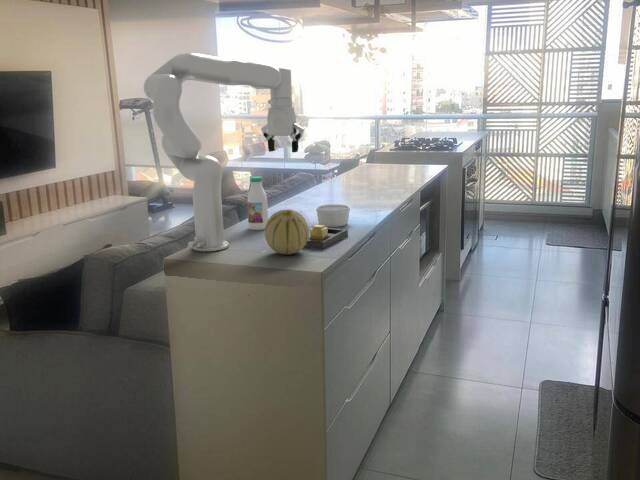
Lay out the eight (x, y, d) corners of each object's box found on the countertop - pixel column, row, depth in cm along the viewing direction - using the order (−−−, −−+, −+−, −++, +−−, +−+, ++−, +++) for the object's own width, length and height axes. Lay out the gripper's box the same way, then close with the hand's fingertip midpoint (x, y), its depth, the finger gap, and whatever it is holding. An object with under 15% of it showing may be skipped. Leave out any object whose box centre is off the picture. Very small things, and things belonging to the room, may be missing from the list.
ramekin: (311, 222, 247) (311, 205, 245) (341, 219, 252) (341, 202, 250) (324, 229, 235) (324, 211, 233) (355, 225, 240) (355, 208, 238)
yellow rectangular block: (322, 247, 209) (322, 227, 208) (310, 246, 211) (310, 226, 210) (327, 244, 213) (327, 224, 212) (316, 242, 215) (315, 223, 214)
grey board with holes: (323, 249, 206) (323, 242, 206) (302, 247, 210) (302, 240, 209) (347, 236, 223) (347, 229, 223) (328, 234, 227) (327, 227, 226)
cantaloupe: (290, 245, 212) (288, 202, 209) (319, 253, 202) (318, 208, 198) (255, 254, 203) (253, 209, 199) (284, 262, 192) (282, 215, 189)
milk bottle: (258, 225, 244) (256, 175, 239) (272, 227, 240) (270, 176, 235) (244, 228, 239) (241, 177, 234) (258, 231, 234) (256, 179, 229)
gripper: (255, 103, 219) (257, 152, 223) (297, 103, 212) (299, 153, 216) (266, 103, 226) (268, 149, 230) (307, 102, 218) (309, 151, 222)
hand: (283, 151), depth 223 cm, fingers open, 9 cm apart
